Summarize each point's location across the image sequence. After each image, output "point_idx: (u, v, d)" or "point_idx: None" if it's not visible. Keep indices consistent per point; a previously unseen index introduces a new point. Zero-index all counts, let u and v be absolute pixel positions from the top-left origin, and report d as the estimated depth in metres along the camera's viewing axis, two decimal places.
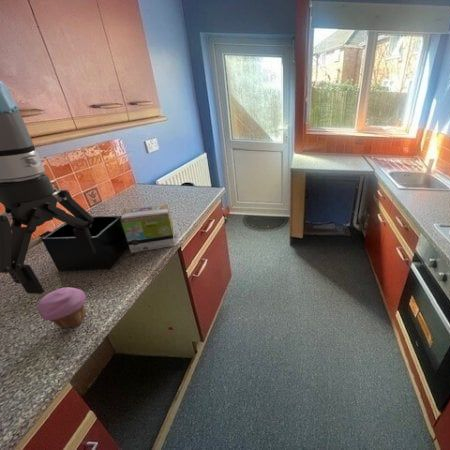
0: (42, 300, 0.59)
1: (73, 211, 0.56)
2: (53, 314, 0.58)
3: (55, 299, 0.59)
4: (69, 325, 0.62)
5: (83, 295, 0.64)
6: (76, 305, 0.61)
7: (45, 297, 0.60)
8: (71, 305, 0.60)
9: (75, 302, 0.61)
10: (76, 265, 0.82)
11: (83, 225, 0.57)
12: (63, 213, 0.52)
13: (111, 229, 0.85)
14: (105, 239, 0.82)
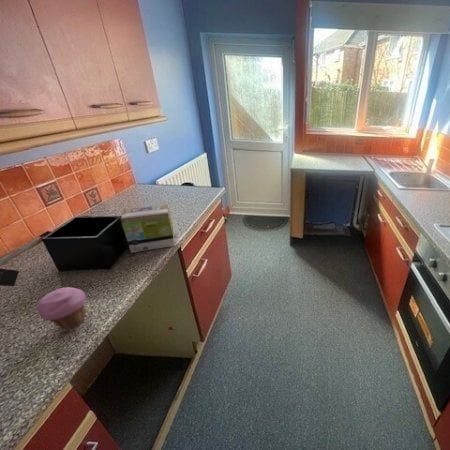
0: (42, 300, 0.59)
1: None
2: (53, 314, 0.58)
3: (55, 298, 0.59)
4: (69, 325, 0.62)
5: (83, 295, 0.64)
6: (76, 305, 0.61)
7: (45, 297, 0.60)
8: (71, 305, 0.60)
9: (75, 302, 0.61)
10: (76, 265, 0.82)
11: None
12: None
13: (111, 229, 0.85)
14: (105, 239, 0.82)
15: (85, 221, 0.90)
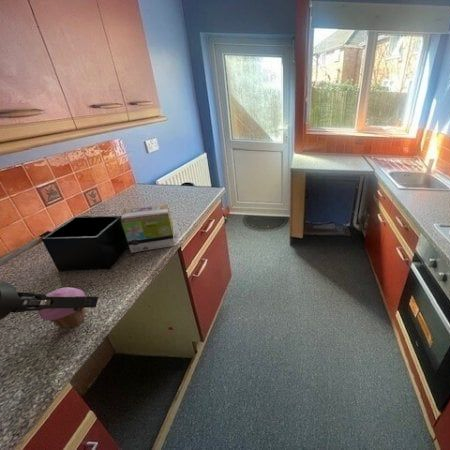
0: None
1: None
2: (53, 314, 0.58)
3: None
4: (69, 325, 0.62)
5: (83, 295, 0.64)
6: None
7: None
8: None
9: None
10: (76, 265, 0.82)
11: None
12: None
13: (111, 229, 0.85)
14: (105, 239, 0.82)
15: (85, 221, 0.90)
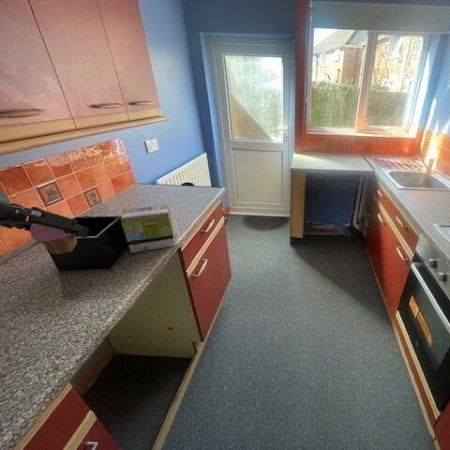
0: None
1: None
2: (45, 235, 0.61)
3: None
4: (61, 250, 0.65)
5: None
6: None
7: None
8: None
9: None
10: (76, 265, 0.82)
11: (61, 229, 0.61)
12: (28, 224, 0.56)
13: (111, 229, 0.85)
14: (105, 239, 0.82)
15: (85, 221, 0.90)
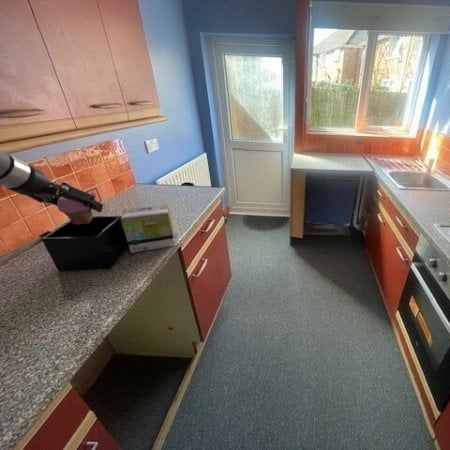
0: (60, 198, 0.77)
1: None
2: (69, 207, 0.76)
3: None
4: (81, 221, 0.80)
5: None
6: None
7: None
8: (82, 203, 0.78)
9: None
10: (76, 265, 0.82)
11: None
12: (58, 197, 0.71)
13: (111, 229, 0.85)
14: (105, 239, 0.82)
15: None
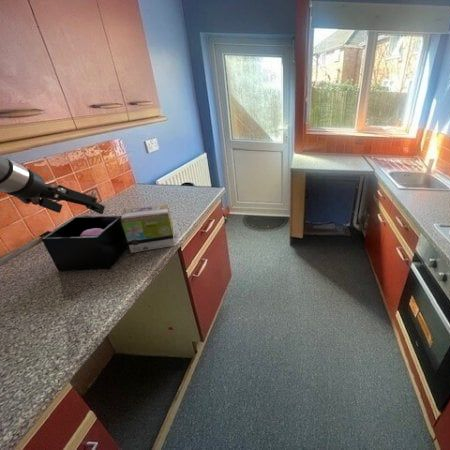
0: (84, 232, 0.83)
1: None
2: None
3: (93, 233, 0.84)
4: None
5: None
6: None
7: (86, 231, 0.84)
8: None
9: None
10: (76, 265, 0.82)
11: (84, 205, 0.75)
12: (57, 200, 0.70)
13: (111, 229, 0.85)
14: (105, 239, 0.82)
15: (85, 221, 0.90)
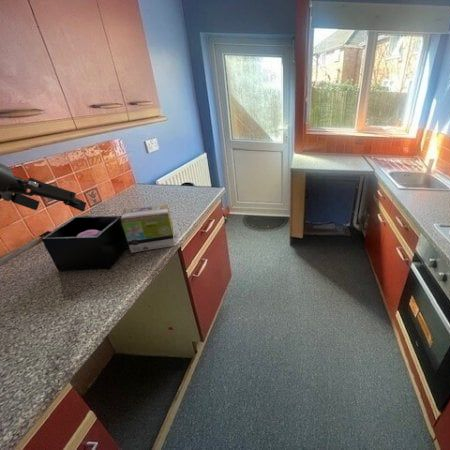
0: (77, 235, 0.83)
1: None
2: None
3: (86, 235, 0.83)
4: None
5: None
6: None
7: (79, 234, 0.84)
8: None
9: None
10: (76, 265, 0.82)
11: (62, 201, 0.68)
12: (30, 195, 0.63)
13: (111, 229, 0.85)
14: (105, 239, 0.82)
15: (85, 221, 0.90)
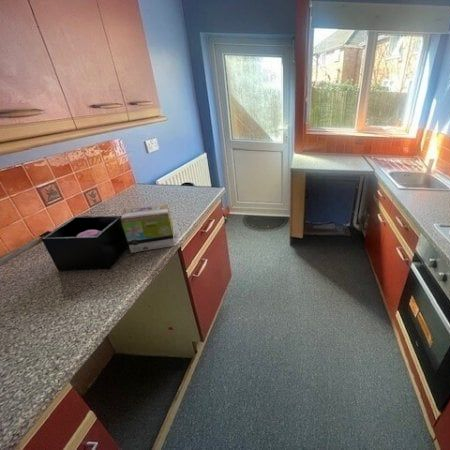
0: (77, 235, 0.83)
1: None
2: None
3: (86, 235, 0.83)
4: None
5: None
6: None
7: (79, 234, 0.84)
8: None
9: None
10: (76, 265, 0.82)
11: None
12: None
13: (111, 229, 0.85)
14: (105, 239, 0.82)
15: (85, 221, 0.90)
